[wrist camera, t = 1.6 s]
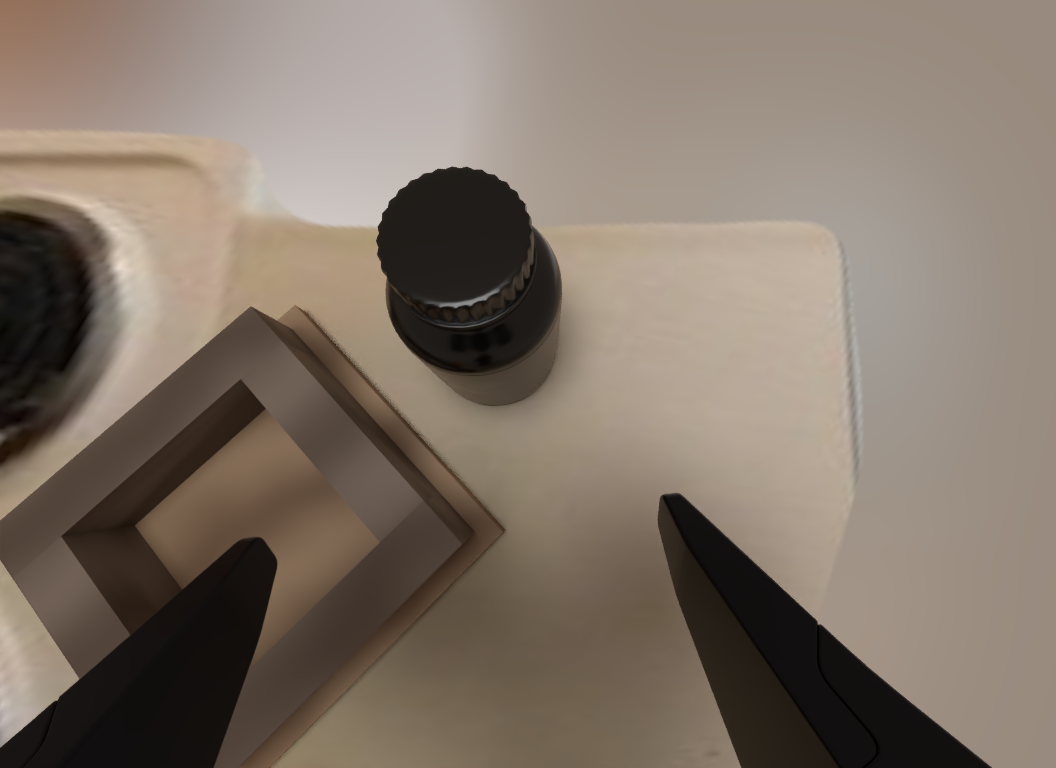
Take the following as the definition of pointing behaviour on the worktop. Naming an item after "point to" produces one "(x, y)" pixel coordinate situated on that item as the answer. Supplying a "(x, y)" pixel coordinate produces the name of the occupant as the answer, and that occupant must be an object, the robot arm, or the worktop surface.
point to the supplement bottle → (471, 284)
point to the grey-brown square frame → (253, 521)
